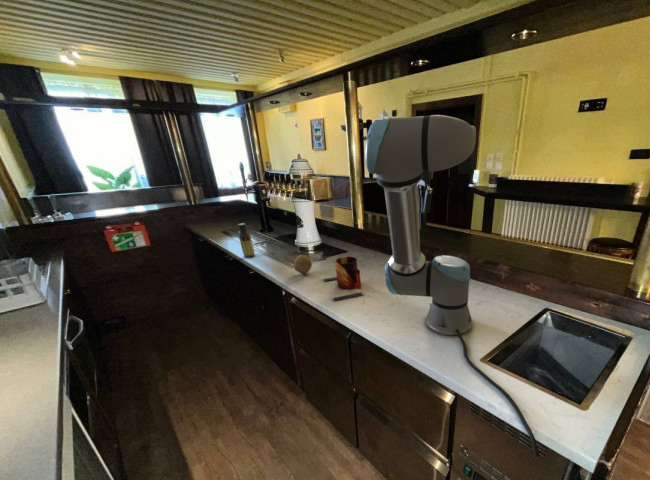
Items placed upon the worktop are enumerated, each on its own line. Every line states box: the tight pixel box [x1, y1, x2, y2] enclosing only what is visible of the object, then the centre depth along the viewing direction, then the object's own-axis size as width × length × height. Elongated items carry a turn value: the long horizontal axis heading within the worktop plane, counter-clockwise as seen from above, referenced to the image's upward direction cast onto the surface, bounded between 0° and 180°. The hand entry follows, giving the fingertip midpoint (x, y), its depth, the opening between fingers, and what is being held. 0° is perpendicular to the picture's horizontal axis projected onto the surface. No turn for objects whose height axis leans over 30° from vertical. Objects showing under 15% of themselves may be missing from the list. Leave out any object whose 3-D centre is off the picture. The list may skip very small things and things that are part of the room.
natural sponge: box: [293, 254, 313, 275], centre depth 150 cm, size 9×9×10 cm
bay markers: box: [323, 276, 363, 302], centre depth 136 cm, size 24×12×1 cm, turn 20°
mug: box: [334, 256, 362, 291], centre depth 134 cm, size 10×14×12 cm
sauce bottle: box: [237, 222, 256, 258], centre depth 178 cm, size 6×6×20 cm
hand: (422, 228), depth 127 cm, fingers closed
